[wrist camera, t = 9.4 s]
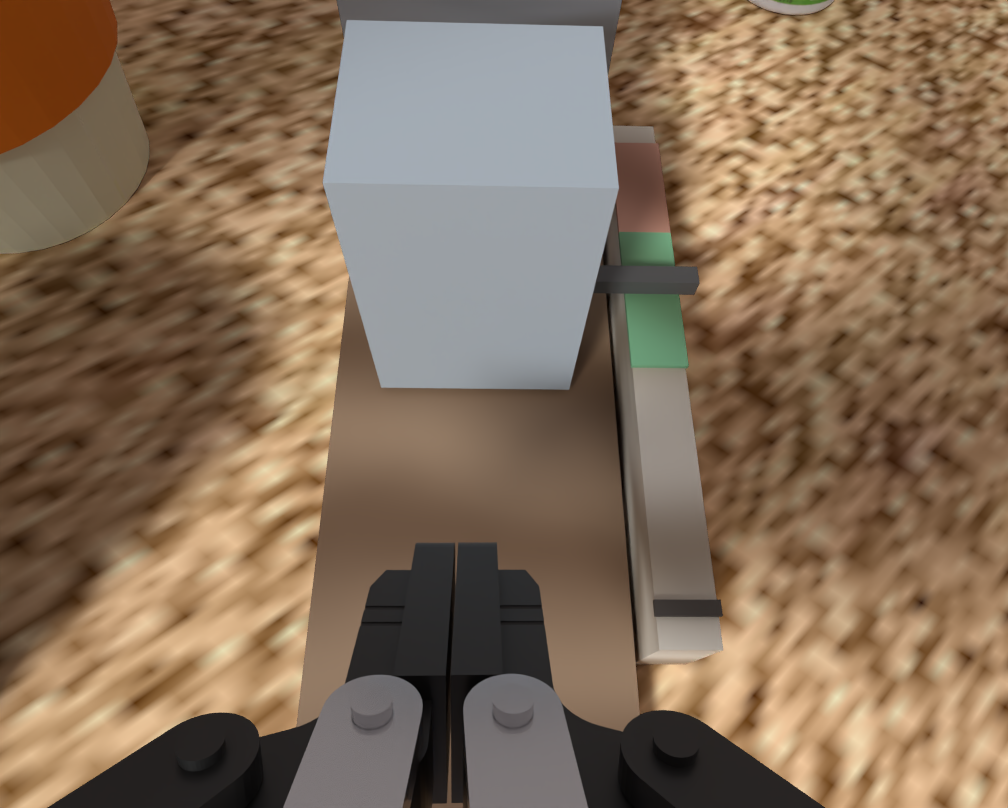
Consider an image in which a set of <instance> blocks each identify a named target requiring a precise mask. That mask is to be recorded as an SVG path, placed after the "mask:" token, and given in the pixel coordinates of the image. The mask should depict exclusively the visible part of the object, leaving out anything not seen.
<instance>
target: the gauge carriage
mask: <svg viewBox="0 0 1008 808" xmlns="http://www.w3.org/2000/svg"><path fill="white" fill-rule="evenodd" d="M323 186H324V189H325V193H326V196H327V200H328V203H329V207H330V210H331V214H332V217H333V221H334V224H335V228H336V231H337V235H338V238H339V242H340V245H341V249H342V252H343V256H344V259H345V263H346V266H347V270H348V273H349V277H350V280H351V284H352V287H353V291H354V294H355V298H356V301H357V305H358V308H359V312H360V315H361V319H362V322H363V326H364V329H365V333H366V336H367V340H368V343H369V347H370V350H371V354H372V357H373V361H374V364H375V368H376V371H377V375H378V378H379V382H380V385H381V388H462V389H554V390H569V388H570V384H571V380H572V376H573V372H574V368H575V364H576V360H577V356H578V352H579V347H580V343H581V339H582V335H583V331H584V327H585V323H586V319H587V315H588V311H589V307H590V303H591V299H592V295H593V293H614V294H682V295H694V294H695V291H696V289H697V287H698V285H699V277H698V270H697V267H677V266H613V265H600V263H601V258H602V254H603V250H604V246H605V242H606V238H607V234H608V230H609V226H610V222H611V218H612V214H613V210H614V206H615V202H616V198H617V194H618V190H619V185H618V175H617V164H616V154H615V144H614V134H613V124H612V114H611V103H610V93H609V83H608V73H607V63H606V52H605V42H604V32H603V26H567V25H526V24H486V23H446V22H405V21H365V20H347V22H346V29H345V35H344V42H343V49H342V56H341V63H340V69H339V76H338V83H337V90H336V96H335V103H334V110H333V117H332V123H331V130H330V137H329V144H328V150H327V157H326V164H325V171H324V177H323Z"/></svg>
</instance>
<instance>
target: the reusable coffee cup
mask: <svg viewBox="0 0 1008 808" xmlns="http://www.w3.org/2000/svg"><path fill="white" fill-rule="evenodd" d="M116 45H117V21H116V18H115V15H114V12H113V9H112V6H111V3H110V1H109V0H0V254H9V253H24V252H30V251H36V250H42V249H45V248H49V247H52V246H55V245H58V244H62V243H65V242H68V241H70V240H72V239H74V238H76V237H78V236H80V235H83V234H85V233H87V232H89V231H91V230H92V229H94V228H95V227H97V226H98V225H100V224H101V223H103V222H104V221H106V220H107V219H109V218H110V217H111V216H112V215H113V214H115V213H116V212H117V211H118V210H119V209H120V208H121V207H122V206H123V205H125V204H126V202H127V201H128V200H129V199H130V197H131V196H132V195H133V193H134V192H135V191H136V190H137V188H138V186H139V185H140V183H141V181H142V179H143V177H144V175H145V173H146V169H147V165H148V161H149V156H150V154H149V139H148V136H147V133H146V130H145V128H144V125H143V122H142V120H141V117H140V114H139V112H138V109H137V106H136V104H135V101H134V98H133V96H132V93H131V90H130V88H129V85H128V82H127V80H126V77H125V74H124V72H123V69H122V67H121V64H120V61H119V59H118V56H117V53H116V51H115V49H116Z"/></svg>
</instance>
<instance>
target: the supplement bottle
mask: <svg viewBox="0 0 1008 808" xmlns="http://www.w3.org/2000/svg"><path fill="white" fill-rule="evenodd" d="M748 1H750V2H751V3H753V4H755V5H757V6H759V7H761V8H763V9H766V10H769V11H772V12H776V13H781V14H788V15H805V14H811V13H815V12H818V11H820V10H822V9H824V8H826V7H827V6H829V5H830V4H831V3H832V2H833V1H834V0H748Z"/></svg>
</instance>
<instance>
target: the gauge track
mask: <svg viewBox="0 0 1008 808" xmlns="http://www.w3.org/2000/svg"><path fill="white" fill-rule="evenodd" d="M621 3H622V0H337V5H338V10H339V15H340V20H341V25H342V30H343V35H345V29H346V22H347V20H365V21H405V22H446V23H486V24H526V25H567V26H603V32H604V42H605V52H606V63H607V73H608V72H609V66H610V61H611V56H612V50H613V45H614V40H615V34H616V29H617V24H618V19H619V13H620V8H621ZM613 134H614V144H615V154H616V164H617V175H618V185H619V190H618V194H617V198H616V202H615V206H614V210H613V214H612V218H611V222H610V226H609V230H608V234H607V238H606V242H605V246H604V250H603V254H602V258H601V263H600V265H613V266H675V262H674V254H673V247H672V240H671V232H670V225H669V218H668V210H667V203H666V196H665V188H664V181H663V173H662V166H661V159H660V151H659V144H658V143H655V136H654V128H653V126H613ZM688 366H689V364H688V357H687V350H686V342H685V335H684V328H683V320H682V313H681V306H680V298H679V294H614V293H593V295H592V299H591V303H590V307H589V311H588V315H587V319H586V323H585V327H584V331H583V335H582V339H581V343H580V347H579V352H578V356H577V360H576V364H575V368H574V372H573V376H572V380H571V384H570V388H569V390H554V389H462V388H381V385H380V382H379V378H378V375H377V371H376V368H375V364H374V361H373V357H372V354H371V350H370V347H369V343H368V340H367V336H366V333H365V329H364V326H363V322H362V319H361V315H360V312H359V308H358V305H357V301H356V298H355V294H354V291H353V287H352V284H351V280H350V277H349V282H348V290H347V299H346V307H345V316H344V324H343V333H342V341H341V350H340V359H339V367H338V376H337V384H336V393H335V401H334V410H333V418H332V427H331V436H330V444H329V453H328V461H327V470H326V478H325V487H324V495H323V504H322V512H321V521H320V530H319V538H318V547H317V555H316V564H315V572H314V581H313V589H312V598H311V607H310V615H309V624H308V632H307V641H306V649H305V658H304V666H303V675H302V684H301V692H300V701H299V709H298V718H297V726H296V727H299V726H301V725H304V724H306V723H308V722H310V721H312V720H314V719H316V718H317V717H319V715H320V712H321V710H322V707H323V705H324V703H325V701H326V700H327V699H328V697H329V696H330V695H331V694H332V693H333V692H334V691H335V690H336V689H338V688H339V687H340V686H342V685H343V684H345V681H346V677H347V673H348V669H349V666H350V662H351V658H352V654H353V650H354V646H355V643H356V639H357V635H358V631H359V627H360V626H361V620H362V616H363V612H364V610H365V604H366V600H367V597H368V593H369V589H370V586H371V585H372V584H373V583H374V582H375V581H376V580H377V579H378V578H379V577H380V576H381V575H382V574H383V573H384V572H385V571H386V570H411V567H412V561H413V555H414V549H415V544H416V543H455V573H456V572H457V555H458V542H497V555H498V570H526V571H527V572H528V573H529V574H530V576H531V577H532V578H533V579H534V580H535V582H536V583H537V584H538V585H539V588H540V595H541V602H542V609H543V617H544V625H545V631H546V638H547V645H548V652H549V660H550V667H551V674H552V681H553V686H554V690H555V692H556V694H557V695H558V697H559V698H560V701H561V703H562V704H563V705H564V706H565V707H566V708H567V709H568V710H570V711H571V712H572V713H573V714H575V715H576V716H578V717H580V718H581V719H583V720H586V721H588V722H590V723H593V724H596V725H599V726H603V727H607V728H611V729H615V730H619V731H622V732H623V730H624V728H625V727H626V725H627V724H628V723H629V722H630V721H631V720H632V719H633V718H635V717H637V716H638V715H640V711H639V698H638V686H637V674H636V664H688V663H691V662H693V661H696V660H699V659H701V658H704V657H707V656H709V655H712V654H714V653H717V652H720V651H722V650H723V644H722V637H721V629H720V622H719V617H722V616H723V614H722V607H721V600H717V599H716V592H715V585H714V577H713V570H712V562H711V555H710V547H709V540H708V532H707V525H706V517H705V510H704V502H703V495H702V487H701V480H700V472H699V465H698V457H697V450H696V442H695V435H694V427H693V420H692V413H691V405H690V398H689V390H688V383H687V375H686V368H688ZM432 808H463V803H451V735H450V754H449V774H448V793H447V803H445V804H432Z"/></svg>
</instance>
